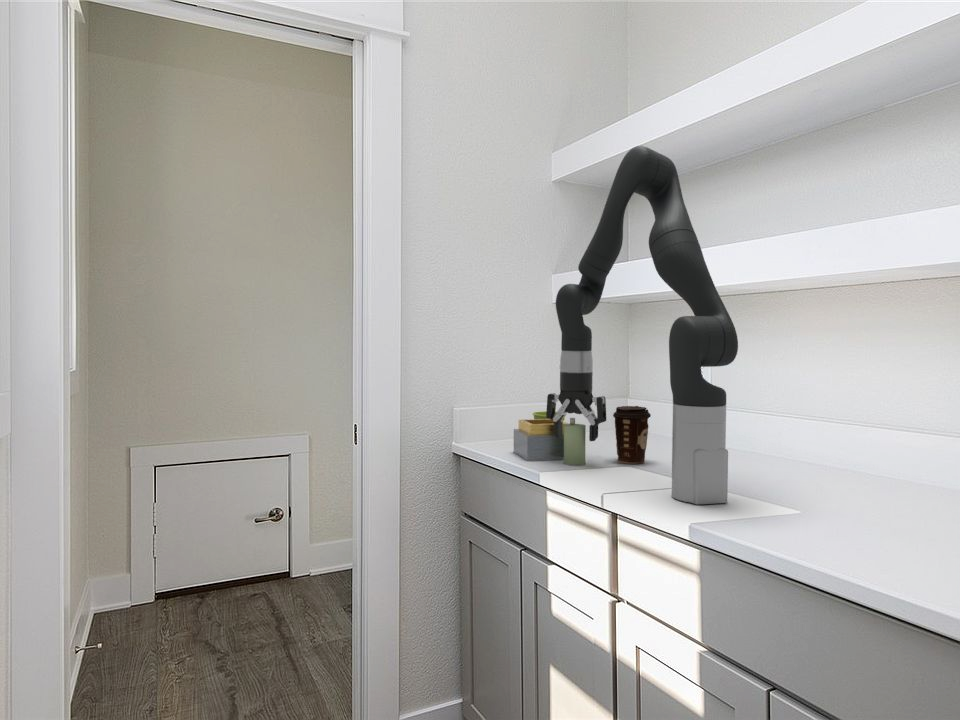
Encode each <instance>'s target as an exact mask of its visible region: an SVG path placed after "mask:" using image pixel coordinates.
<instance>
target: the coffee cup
mask: <svg viewBox="0 0 960 720" xmlns="http://www.w3.org/2000/svg"><path fill="white" fill-rule="evenodd" d="M612 416H613V418H614V427H615V440H616V444H615V445H616V454H617V463H619V464H620V463H621V464H630V465H631V464H633V465H634V464H635V465H636V464H642V463H644V462H645V461H646V450H647V445H648V444H647V443H648V435H649V422H648V421H649V418H651V416H652V415H651V413H650V412H649V409H647V407H645V406H638V405H634V406H633V405H623V406H617V407H616V408H615V412H613V415H612Z"/></svg>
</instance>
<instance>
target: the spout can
mask: <svg viewBox="0 0 960 720" xmlns="http://www.w3.org/2000/svg"><path fill="white" fill-rule="evenodd" d="M586 427H587V426H586V424H582V423H576V417H569V424H565V425H564V460H563V464H564V465H566V464H568V465H567V466H575V465H577V466H585V465H586V432H587V431H586V430H587V429H586Z"/></svg>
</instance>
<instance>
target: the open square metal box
mask: <svg viewBox="0 0 960 720" xmlns="http://www.w3.org/2000/svg"><path fill="white" fill-rule="evenodd" d="M561 422H563V429H562V437H561V438H556V435H554V421H553V420H551V419H534V418H532V419H528V418H527V419H518V428H514V429H513V453H514V454H515V455H518V457H520V458H522V459H523V460H525V461H527V462H534V461H556V460H557V461H561V460H563V461H564V425H565V424H570V422H565V421H561Z"/></svg>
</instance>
